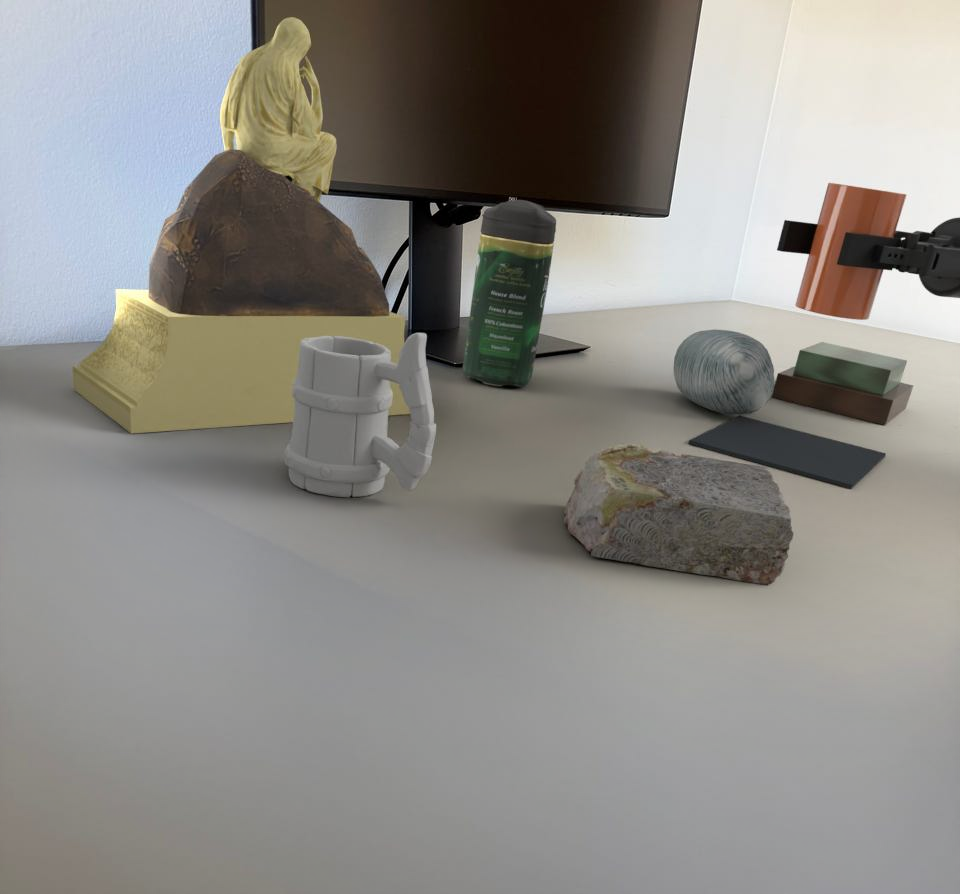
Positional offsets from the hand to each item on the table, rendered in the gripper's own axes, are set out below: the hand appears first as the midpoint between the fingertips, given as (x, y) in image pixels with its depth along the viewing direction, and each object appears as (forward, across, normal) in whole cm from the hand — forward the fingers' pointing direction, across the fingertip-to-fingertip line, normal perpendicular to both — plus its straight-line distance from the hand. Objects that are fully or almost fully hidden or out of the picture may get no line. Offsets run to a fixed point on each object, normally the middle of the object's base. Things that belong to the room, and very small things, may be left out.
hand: (813, 242), depth 89 cm
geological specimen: (+28, -21, -20) cm, 40 cm away
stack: (-29, +16, -19) cm, 38 cm away
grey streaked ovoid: (-9, +12, -17) cm, 23 cm away
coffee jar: (+16, +25, -20) cm, 36 cm away
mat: (-3, -2, -19) cm, 20 cm away
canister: (-5, 0, -6) cm, 8 cm away
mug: (+46, -7, -20) cm, 50 cm away
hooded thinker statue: (+47, +16, -20) cm, 53 cm away
